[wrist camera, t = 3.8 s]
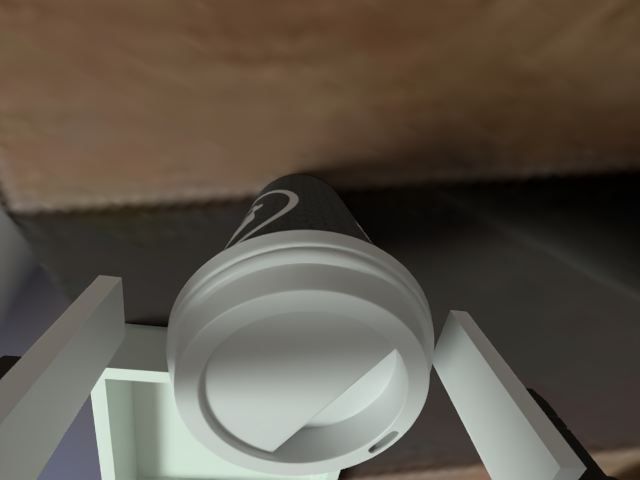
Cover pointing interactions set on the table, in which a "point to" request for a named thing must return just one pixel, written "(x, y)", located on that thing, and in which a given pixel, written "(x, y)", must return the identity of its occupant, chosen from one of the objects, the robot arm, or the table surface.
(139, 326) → the bin
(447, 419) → the table surface
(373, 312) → the coffee cup
